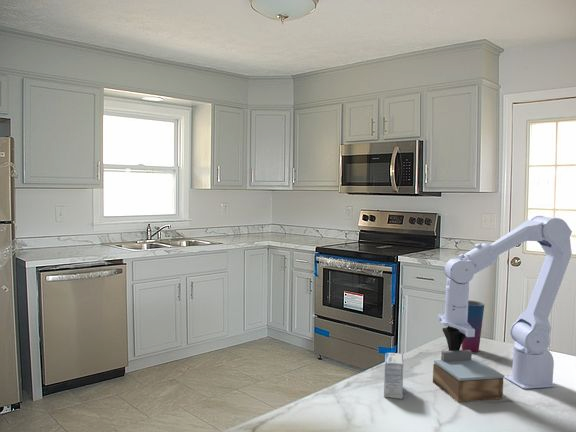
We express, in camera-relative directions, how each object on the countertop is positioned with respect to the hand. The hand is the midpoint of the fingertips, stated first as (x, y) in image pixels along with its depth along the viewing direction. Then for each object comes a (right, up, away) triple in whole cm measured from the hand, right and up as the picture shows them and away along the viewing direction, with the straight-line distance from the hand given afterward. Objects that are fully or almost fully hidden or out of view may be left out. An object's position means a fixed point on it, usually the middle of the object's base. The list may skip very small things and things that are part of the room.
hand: (453, 355), depth 132 cm
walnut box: (+1, -7, -6) cm, 9 cm away
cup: (+14, -6, +26) cm, 30 cm away
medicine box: (-18, -7, -8) cm, 21 cm away
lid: (+1, -2, -6) cm, 7 cm away
